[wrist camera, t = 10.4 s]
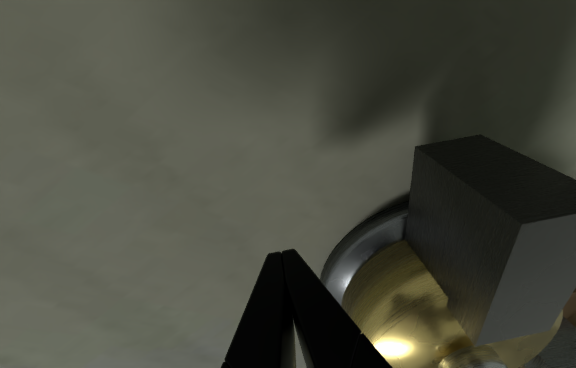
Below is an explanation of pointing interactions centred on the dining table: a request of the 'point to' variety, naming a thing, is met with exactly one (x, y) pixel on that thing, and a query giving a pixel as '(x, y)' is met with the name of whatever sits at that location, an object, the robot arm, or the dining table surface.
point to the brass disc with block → (472, 258)
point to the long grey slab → (558, 349)
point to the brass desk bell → (370, 242)
